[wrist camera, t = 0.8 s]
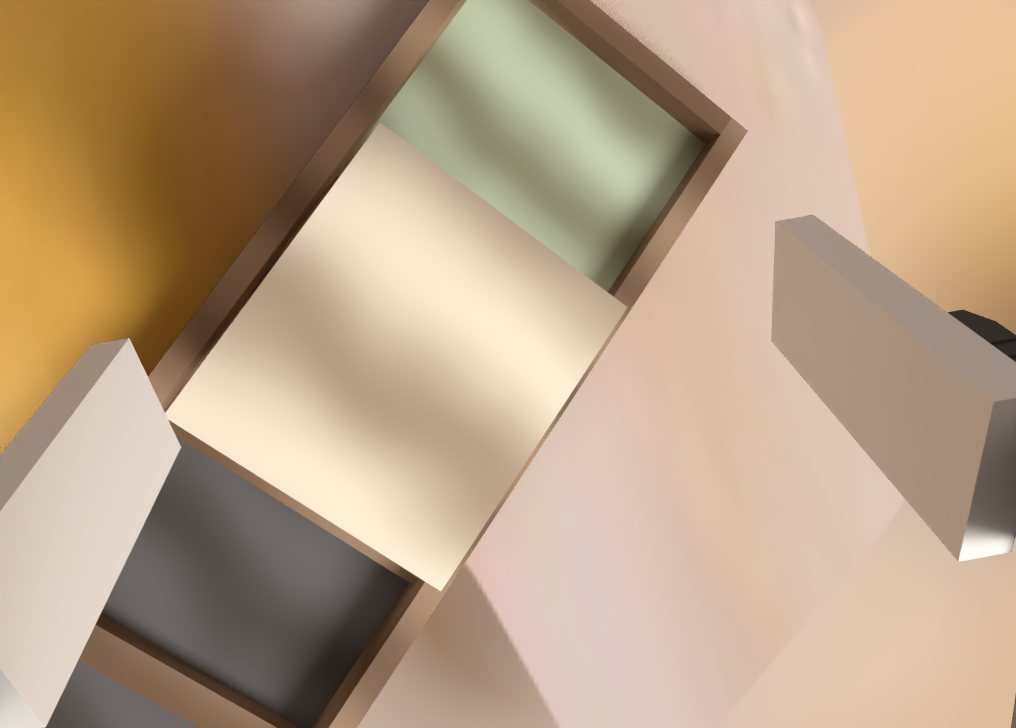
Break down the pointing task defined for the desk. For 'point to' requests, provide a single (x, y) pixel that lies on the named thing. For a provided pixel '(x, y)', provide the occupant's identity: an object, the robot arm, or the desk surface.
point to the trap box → (199, 467)
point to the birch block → (400, 359)
